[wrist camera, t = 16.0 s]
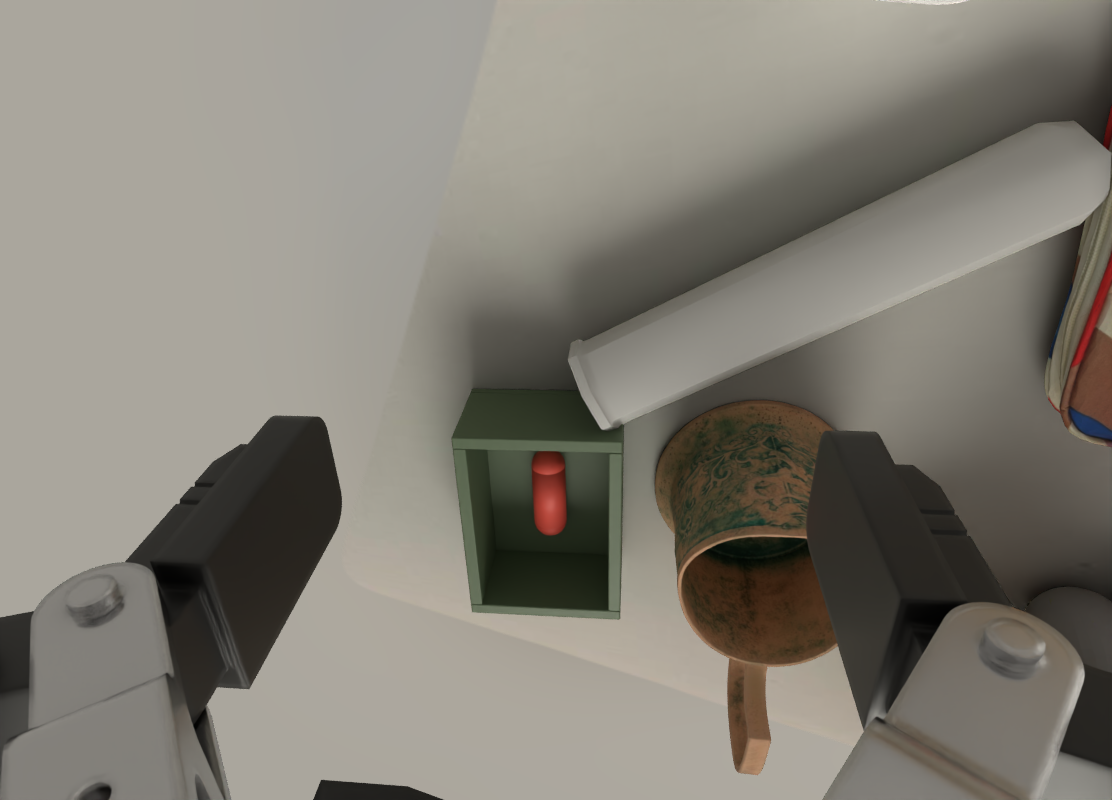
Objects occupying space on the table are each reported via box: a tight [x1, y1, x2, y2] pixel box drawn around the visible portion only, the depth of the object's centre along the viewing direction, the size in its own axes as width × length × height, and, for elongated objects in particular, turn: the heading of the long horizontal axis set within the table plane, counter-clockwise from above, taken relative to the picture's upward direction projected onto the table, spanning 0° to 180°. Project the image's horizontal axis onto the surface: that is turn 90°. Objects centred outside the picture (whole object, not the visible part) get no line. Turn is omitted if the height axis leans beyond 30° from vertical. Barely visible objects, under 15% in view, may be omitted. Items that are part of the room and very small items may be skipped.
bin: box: [452, 389, 624, 620], centre depth 43 cm, size 12×9×6 cm
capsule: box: [531, 451, 567, 535], centre depth 44 cm, size 6×2×2 cm, turn 2°
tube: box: [568, 121, 1112, 431], centre depth 35 cm, size 5×5×25 cm
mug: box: [655, 400, 838, 775], centre depth 40 cm, size 12×18×12 cm, turn 178°
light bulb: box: [1025, 587, 1112, 673], centre depth 43 cm, size 6×6×10 cm
